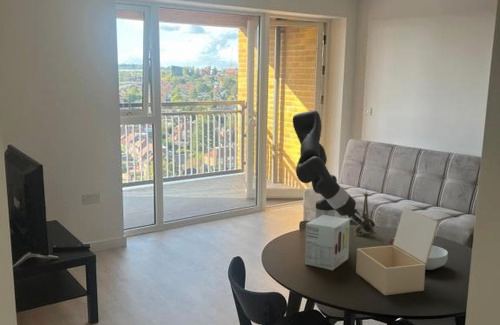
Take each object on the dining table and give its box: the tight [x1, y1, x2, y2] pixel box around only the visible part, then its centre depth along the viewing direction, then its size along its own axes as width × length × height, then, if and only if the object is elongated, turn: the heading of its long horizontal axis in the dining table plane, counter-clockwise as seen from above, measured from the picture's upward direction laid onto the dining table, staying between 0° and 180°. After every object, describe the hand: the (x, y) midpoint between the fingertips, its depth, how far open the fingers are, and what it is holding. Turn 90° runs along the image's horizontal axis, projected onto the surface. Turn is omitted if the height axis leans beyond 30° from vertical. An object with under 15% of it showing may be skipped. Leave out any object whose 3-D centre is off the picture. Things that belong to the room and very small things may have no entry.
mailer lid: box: [393, 206, 440, 264], centre depth 183 cm, size 16×22×1 cm
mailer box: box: [355, 245, 426, 296], centre depth 183 cm, size 16×22×10 cm
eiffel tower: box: [353, 185, 376, 238], centre depth 242 cm, size 11×11×25 cm
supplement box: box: [304, 215, 351, 271], centre depth 203 cm, size 17×13×18 cm
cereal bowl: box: [405, 244, 449, 271], centre depth 198 cm, size 17×17×7 cm
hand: (369, 230), depth 178 cm, fingers closed
